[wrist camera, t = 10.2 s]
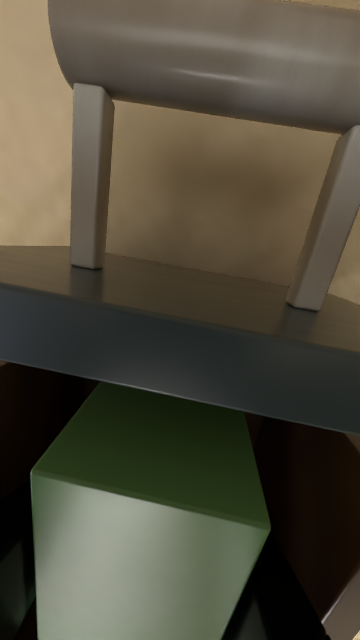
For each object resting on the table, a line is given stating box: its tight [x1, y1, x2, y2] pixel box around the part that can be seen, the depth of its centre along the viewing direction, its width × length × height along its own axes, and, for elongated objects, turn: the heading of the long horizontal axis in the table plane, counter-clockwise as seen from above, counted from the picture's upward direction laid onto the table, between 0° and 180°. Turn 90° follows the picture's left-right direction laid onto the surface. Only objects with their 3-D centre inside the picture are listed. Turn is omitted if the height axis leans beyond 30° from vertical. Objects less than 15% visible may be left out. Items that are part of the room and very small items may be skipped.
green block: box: [30, 381, 271, 640], centre depth 6 cm, size 6×4×4 cm
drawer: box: [0, 0, 360, 640], centre depth 7 cm, size 18×11×7 cm, turn 170°
